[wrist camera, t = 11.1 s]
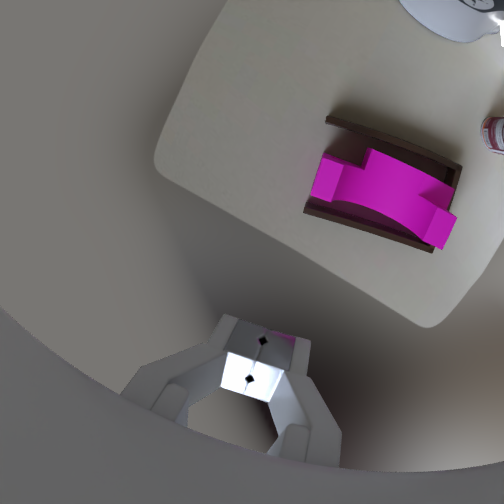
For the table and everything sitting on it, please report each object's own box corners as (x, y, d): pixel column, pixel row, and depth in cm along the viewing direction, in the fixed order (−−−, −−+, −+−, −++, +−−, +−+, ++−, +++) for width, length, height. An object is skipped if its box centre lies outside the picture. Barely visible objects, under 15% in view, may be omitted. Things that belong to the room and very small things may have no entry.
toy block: (440, 181, 28) (466, 195, 21) (421, 226, 31) (442, 249, 24) (329, 132, 29) (331, 132, 23) (313, 181, 32) (310, 194, 26)
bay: (326, 117, 29) (326, 115, 26) (454, 163, 26) (462, 166, 24) (304, 207, 34) (302, 213, 32) (426, 246, 31) (432, 254, 29)
